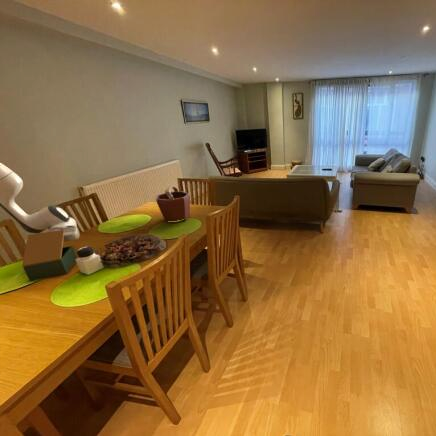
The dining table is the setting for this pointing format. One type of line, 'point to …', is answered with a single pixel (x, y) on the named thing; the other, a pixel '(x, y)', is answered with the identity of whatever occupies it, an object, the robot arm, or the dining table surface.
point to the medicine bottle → (88, 260)
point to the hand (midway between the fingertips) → (47, 244)
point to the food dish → (131, 250)
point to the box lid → (43, 247)
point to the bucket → (174, 204)
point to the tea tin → (52, 266)
